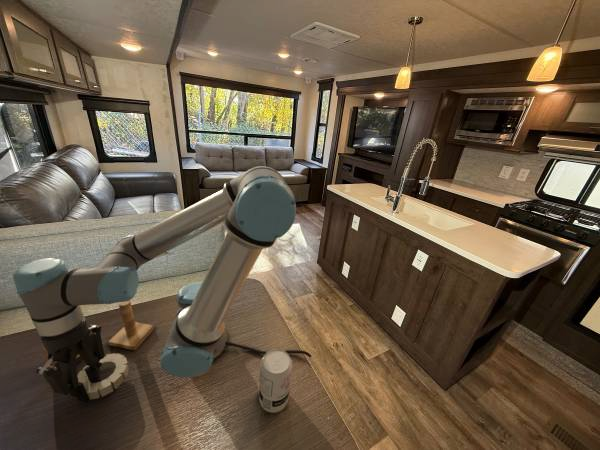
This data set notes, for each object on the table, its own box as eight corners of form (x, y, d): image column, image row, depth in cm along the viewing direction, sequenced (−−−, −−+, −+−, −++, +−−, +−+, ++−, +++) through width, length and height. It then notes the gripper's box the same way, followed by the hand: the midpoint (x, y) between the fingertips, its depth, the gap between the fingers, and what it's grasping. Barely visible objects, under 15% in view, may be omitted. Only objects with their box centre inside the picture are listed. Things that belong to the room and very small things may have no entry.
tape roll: (138, 366, 71) (136, 360, 70) (98, 406, 61) (96, 399, 60) (108, 354, 74) (106, 348, 73) (66, 390, 64) (63, 383, 63)
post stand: (154, 328, 86) (147, 295, 80) (134, 350, 78) (126, 315, 72) (130, 324, 87) (122, 291, 81) (109, 345, 79) (98, 309, 73)
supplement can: (261, 382, 72) (263, 345, 66) (289, 385, 72) (293, 348, 66) (256, 412, 65) (257, 374, 59) (287, 415, 65) (291, 377, 59)
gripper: (81, 298, 62) (104, 362, 71) (2, 352, 47) (43, 424, 57) (108, 302, 61) (128, 366, 71) (36, 359, 47) (72, 431, 56)
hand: (90, 392), depth 64 cm, fingers closed on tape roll, 3 cm apart
